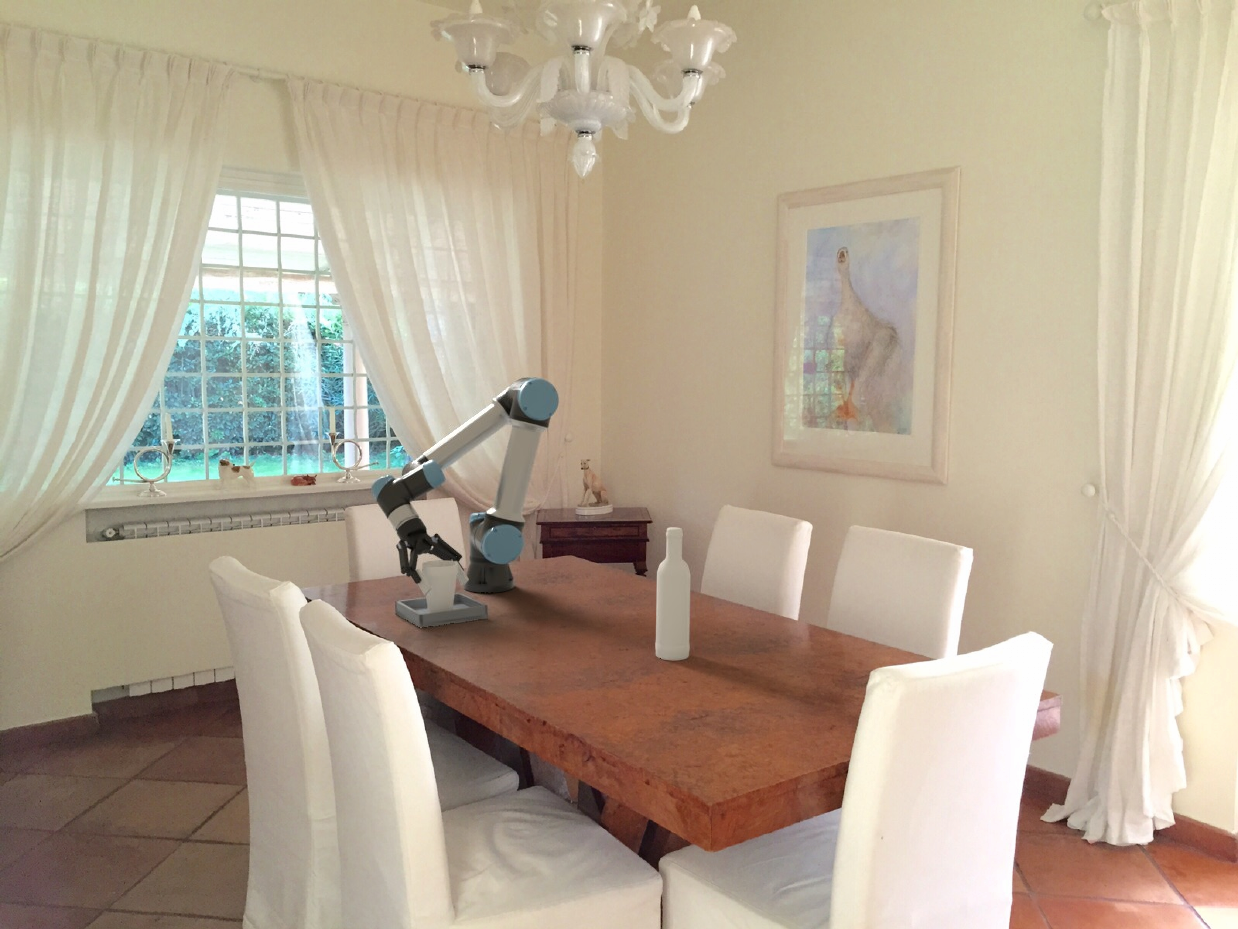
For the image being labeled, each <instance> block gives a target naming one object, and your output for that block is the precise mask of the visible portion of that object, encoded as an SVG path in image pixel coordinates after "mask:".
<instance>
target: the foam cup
mask: <svg viewBox="0 0 1238 929" xmlns="http://www.w3.org/2000/svg"><path fill="white" fill-rule="evenodd" d="M421 567H422V568H421V572H422V574H423V575H424V577H425V579H426V580H427V582H428V583H429V585H430V587H431V588H432V589H431V590H430V591H429V592H428V593H427V595H425V597H426V599H427V606H428V613H432V612H439V611H446V610H452V609H453V602H454V594H455V592H456V585H457V573H458V563H457V562H455V561H453V560H452V561H447V560H442V559H440V560H439V559H438V560H430V561H425V562H423V563H422V566H421Z"/></svg>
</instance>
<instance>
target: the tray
mask: <svg viewBox="0 0 1238 929" xmlns="http://www.w3.org/2000/svg"><path fill="white" fill-rule="evenodd" d="M394 602H395V606H394V607H395V609H394V610H395V615H396V616H398V617H400V618H401V617H402V619H403V620H405V619H406V620H405V621H407V620H408V621H409V622H408V621H407V622H408V623H410V624H412V623H413V624H415V625H416V626H415V625H414V626H415V627H417V626H419V627H427V626H433V627H438V626H439V625H440V626H447V625H451V624H450V623H454V624H460V623H467V622H473V620H474V621H479V620H478V619H481V620H486V619H489V617H488V616H489V615H488V614H489V612H488V611H489V610H488V609H489V608H488V607H489V606H488V604H486V603H483V602H480V601H479V600H477V599H474V598H473V597H470V596H468V595H466V594H463V593H462V592H456V593H455V594H454V602H453V609H452V610H446V611H439V612H432V613H428V606H427V599H426V596H425V597H424V596H423V597H418V598H410V599H403V600H396V601H394ZM466 621H467V622H466ZM413 624H412V625H413ZM444 624H445V625H444ZM446 624H447V625H446ZM427 628H428V627H427Z"/></svg>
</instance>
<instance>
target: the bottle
mask: <svg viewBox="0 0 1238 929" xmlns="http://www.w3.org/2000/svg"><path fill="white" fill-rule="evenodd" d="M683 536H684V533H683V528H681V527H676V526H675V527H674V526H673V527H672V526H671V527H667V528H666V532H665V537H666V541H665V542H666V546H665V547H666V551H665V552H666V553H665V558H664V559H663V560H662V562H660V563H659V565H658V569H657V570H656V606H655V608H656V609H655V610H656V611H655V613H656V616H655V618H656V621H655V645H654V646H655V647H654V648H655V657H657V658H658V659H660V658H661V659H660V660H664V661H672V662H673V661H675V662H676V661H683V660H686V659H688V658H689V657H690V649H691V646H690V624H691V623H690V621H691V620H690V618H691V613H690V612H691V611H690V610H691V571H690V568H689V564H688V563H687V562H686V561H685V560H684V559H683Z"/></svg>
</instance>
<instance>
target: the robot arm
mask: <svg viewBox="0 0 1238 929" xmlns="http://www.w3.org/2000/svg"><path fill="white" fill-rule="evenodd" d="M559 400H560V398H559V393H558V390H557V389H556V387H555V385H553V384H552V383H551V382H550V381H549V380H546V379H544V378H542V377H521V378H519V379H517V380H515V381H514V382H512V383H511V384H510V385H509V386H507V387H506V388H505V389H504V390H502V391H501V392H500V393H499V394H498V395H496V396H495V397H493V398H492V399H491V404H490V405H488V406H487V407H486V408H484V409H483V410H481V411H480V412H479V413H477V414H475V416H473V417H471V418H470V419H468V421H466V422H465V423H464V424H462V425H461V426H459V427H458V428H457V429H455V430H454V431H453V432H451V433H450V434H448V435H447V436H446V437H444V438H443V439H441V440H440V441H439V442H437V443H436V444H435V445H433V446H432V447H431V448H429V449H428V450H426V451H425V452H423V453H422V454H421V455H419V456H418V457H416V458H415V459H414V460H410V461H408V462H406V463H405V464H404V465H403V467H402V469H401V476H400V477H398V478H396V477H394V476H393V475H390V474H387V475H385V476H381V477H379V478H377V479H376V480H375V481H374V482H373V484H372V485H371V488H370V491H371V492H370V493H371V494H372V495H373V498H374V500H375V501H376V503H377V505H378V506H379V508H380V509H381V511H382V512H383V514H384V516H385V517H386V519H387V520H388V521H389V524H390V525H391V528H393V530H394V532H396V535H397V537H398V538H399V541H398V542H397V543H396V549H397V551H398V556H399V567H400V573H401V574H402V575H406V577H408V578H409V577H411V578H412V580H413V582H414V583H415V584H417V586H418V588H419V589H420V590H421V592H422V593H423V596H426V595H427V593H428V592H429V591H430V590H431V589H432V588H431V587H430V585H429V583H428V582H427V580H426V579H425V577H424V575H423V574H422V570H421V569H420V568H417V564H418V558H419V556H421V555H423V554H424V555H426V554H428V555H433V556H435V557H437V558H439V559H440V560H447V561H455V562H457V563H458V573H457V578H456V580H458V582H459V583H460V586H462V587H463V589H464V590H466V591H468V592H473V593H481V592H485V593H486V592H488V593H490V594H491V592H493V593H501V592H507V591H511V590H513V589H514V588H515V579H514V575H513V573H512V569H511V565H510V563H512V562H514V561H515V560H517V559H518V558H519V557H520V556H521V554H522V552H523V549H524V545H525V541H524V535H523V531H524V528H525V523H526V520H525V518H524V516H523V509H524V505H525V502H526V497H527V493H528V488H529V485H530V481H531V477H532V473H533V469H534V464H535V462H536V461H535V460H536V456H537V452H538V448H539V443H540V440H541V436H542V434H543V433H544V432H546V431H547V430H548V429H549V425H550V422H551V419H552V416H553V415H555V413H556V411H557V409H558V407H559V403H560V401H559ZM505 426H511V431H510V434H509V439H508V442H507V446H506V449H505V450H506V451H505V455H504V459H503V462H502V467H501V472H500V475H499V479H498V483H497V488H496V490H495V496H494V499H493V503H492V507H490V508H489V509H487V510H486V511H485V512H474V513H473V512H472V513H471V514H470V516H469V522H468V525H469V528H468V529H469V564H468V567H467V569H466V572H465V569H464V567H463V565H462V564H461V563H460V560H461V559H462V558H463V555H462V554H461V553H459V551H458V550H456V549H455V548H453V547H452V546H451V545H450V544H449V543H448V542H446V541H445V540H444V539H443V538H442V537H441V536H440V534H438V533H434V534H433V535H432V536H431V535H430V534H428V532H427V529H428V528H427V526H426V525H425V524H424V522H423V520H422V519H421V518H420V515H419V514H418V512H417V511H416V509H415V508H414V507H413V504H412V502H413V501H415V500H417V499H419V498H420V497H422V496H424V495H425V494H428V493H429V492H431V491H432V490H435V489H438V487H440V486H441V485H442V484H444V483H445V482H446V476H445V474H444V472H443V471H445V470H446V469H448V468H449V467H451V466H452V465H453V464H455V463H456V462H458V461H459V460H460V459H461V458H463V457H464V456H465V455H467V454H468V453H470V452H471V451H473V450H474V449H475V448H476V447H478V446H479V445H480V444H482V443H484V441H486V440H487V439H489V438H490V437H491V436H493V435H495V434H496V433H497V432H499V431H500V430H502V429H503V428H504V427H505ZM408 549H409V551H410V552H409V551H408ZM485 593H484V594H485ZM488 593H487V594H488Z"/></svg>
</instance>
